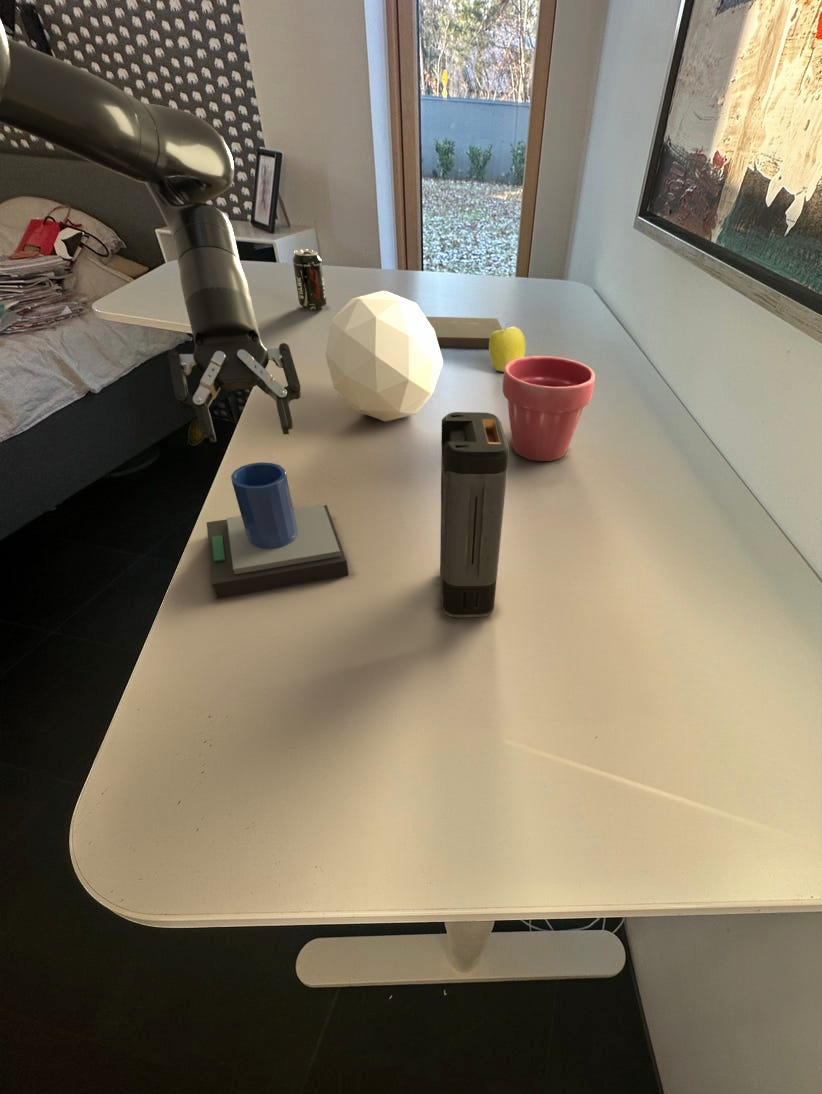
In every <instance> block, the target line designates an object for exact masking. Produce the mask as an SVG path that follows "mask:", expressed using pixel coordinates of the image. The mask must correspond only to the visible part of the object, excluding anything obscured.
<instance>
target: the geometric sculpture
mask: <svg viewBox="0 0 822 1094" xmlns="http://www.w3.org/2000/svg"><path fill="white" fill-rule="evenodd" d="M426 317H427V316H425V313H423V311H422V310H421V308H420V306H419V305H418V304H417V302H415V301H413V300H409V299H407V298H405V297H402V296H399V295H397V294H394V293H392V292H389V291H388V290H387V291H386V290H380V291H377V292H373V293H368V294H366V295H361V296H357V297H354V298H351V299H350V300H349V301H348V302H347V303H345V305H344V306H343V307H342V308H341V309H340V310H339V312H338V313H336V314H335V315H334V316H333V317H332V318H331V319H330V325H329V330H328V331H329V332H328V336H327V337H328V338H327V342H326V343H327V344H326V350H325V359H326V362H327V366H328V370H329V374H330V378H331V381H332V385H333V389H334V390H335V391H336V392H337V393H338V394H339V395H340V396H341V397H342V398H343V399H344V400H345V402H346V403H347V404H348V405H349V406H350V407H351V409H353V411H355V412H358V413H361V414H363V415H366V416H369V417H372V418H374V419H377V420H379V421H382V422H389V421H394V420H397V419H402V418H405V417H410V416H415V415H416V414H417V413H418V412H419V410H421V408H422V407H423V406H424V405H425V404H426V403H427V402H428V400H429V399H430V398H431V397H432V395H433V394H434V391H435V390H436V386H437V383H438V380H439V377H440V374H441V371H442V369H443V366H444V359H443V355H442V352H441V348H439V345H438V342H437V338H436V335H435V331H434V329H433V328H432V326H431V325H430V323H429V322H428V320H427V319H426Z"/></svg>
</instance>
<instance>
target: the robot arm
mask: <svg viewBox="0 0 822 1094" xmlns="http://www.w3.org/2000/svg"><path fill="white" fill-rule="evenodd" d="M0 124H2V125H6V126H8V127H10V128H13V129H16V130H18V131H20V132H23V133H24V134H27V135H29V136H31V137H34V138H37V139H39V140H41V141H44V142H46V143H48V144H50V145H52V146H54V147H56V148H59V149H61V150H63V151H65V152H68V153H70V154H72V155H74V156H76V157H79V158H81V159H83V160H85V161H87V162H89V163H92V164H94V165H96V166H99V167H101V168H104V169H106V170H108V171H111V172H113V173H115V174H118V175H120V176H123V177H125V178H128V179H129V180H133V181H135V182H138V183H143V184H145V186H146V187H147V189H148V191H149V193H150V195H151V197H152V199H153V200H154V202H155V204H156V206H157V208H158V210H159V211H160V214H161V216H162V218H163V220H164V222H165V225H166V226H167V227H168V230H169V233H170V234H171V237H172V243H173V247H174V251H175V256H176V260H177V263H178V268H179V279H180V287H181V291H182V295H183V299H184V305H185V307H186V308H185V309H186V312H187V316H188V320H189V324H190V329H191V333H192V337H193V342H194V351H193V353H179V351H178V350H176V349H170V350H168V351H167V357H168V358H167V359H168V364H169V369H170V376H171V382H172V387H173V393H174V398H175V399H176V401H177V403H178V405H179V407H180V408H181V409H183V410H188V409H189V410H193V411H194V412H195V413H196V414H195V415H196V417H197V422H198V427H199V430H200V432H201V435H202V436H203V437H204V439H208V440H209V442H210V443H216V442H217V436H216V431H215V428H214V423H213V420H212V419H213V418H212V415H211V412H210V409H209V408H210V406H211V405H212V403H213V400H215V399H216V397H217V396H218V395H219V392H220V390H221V389H222V390H225V391H226V392H232V391H233V392H234V391H236V390H240V389H241V390H253V389H254V388H255V387H256V386H257V387H258V388H259V389H260V390H261V391H262V392H263V393H264V394H266V395H269V396H270V398H272V400H273V401H275V402H276V403H275V404H276V409H277V414H278V417H279V423H280V426H281V429H282V430H281V431H282V434H283V435H284V436H285V435H290V430H293V426H294V422H293V417H292V413H291V408H290V402H292V401H293V400H299V399H300V398H301V397H302V393H301V389H302V388H301V383H300V380H299V376H298V373H297V369H296V365H295V363H294V359H293V356H292V353H291V348H290V346H289V344H287V343H286V342H285V343H284V342H281V343H280V344H279V345H278V347H274V348H266V347H265V346H264V345H263V343H262V340H261V336H260V332H259V328H258V323H257V319H256V314H255V310H254V306H253V305H254V304H253V299H252V296H251V293H250V288H249V284H248V281H247V278H246V276H245V273H244V270H243V266H242V264H241V260H240V254H239V251H238V246H237V242H236V238H235V234H234V230H233V227H232V224H231V222H230V220H229V218H228V217H227V215H226V214H225V213H224V212H223V211H222V210H220V209H219V208H217V207H216V206H214V205H212V204H208V203H207V202H209V201H211V200H212V199H214V198H216V197H218V196H220V195H221V194H223V193H225V192H226V191H227V190H229V188H230V187H231V186H232V184H233V182H234V178H235V164H234V160H233V156H232V153H231V151H230V148H229V146H228V145H227V143H226V142H225V140H224V138H223V137H222V136H221V134H220V133H219V132H218V131H217V130H216V129H215V128H214V127H213V126H212V125H211V124H210V123H209V122H207V121H206V120H204V119H203V118H201V117H200V116H198V115H196V114H195V113H194V114H193V113H192V112H189V111H185V110H182V109H179V108H173V107H170V106H165V105H161V104H155V103H147V102H146V103H145V102H142V101H141V100H139V99H137V98H136V97H134V96H132V95H130V94H129V93H127V92H126V91H124V90H122V89H120V88H119V87H117V86H116V85H114V84H112V83H110V82H108V81H107V80H105V79H103V78H101V77H99V76H97V75H96V74H93V73H91V72H88V71H87V70H84V69H83V68H80V67H77V66H75V65H74V64H72V63H69V62H66V61H64V60H61V59H58V58H56V57H54V56H51V55H49V54H48V53H45V52H42V51H39V50H37V49H35V48H32V47H30V46H28V45H25V44H23V43H21V42H18V41H16V40H14V39H11V38H10V37H7V34H6V30H5V27H4V25H3V22H2V19H1V18H0ZM269 361H272V362H274V364H275V366H276V367H277V368H279V369H282V370H283V373H284V376H285V380H286V383H287V386H284V387H283V386H282V385H281V384H280V383H279V382H278V381H276V379H275V378H274V377H273V375H272V374H271V373H270V372H269V371H268V370H267V369H266V368H267V367H268V365H269ZM194 366H196V367H197V368H198V369H199V370H200V371H201V372H202V373H203V375H202V377H201V378H200V381H199V385H198V387H197V389H196V391H195V393H194V394H190V393H189V389H188V383H187V378H186V377H187V376H189V375H190V374H191V373H192V368H193V367H194Z"/></svg>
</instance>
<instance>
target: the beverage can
mask: <svg viewBox="0 0 822 1094" xmlns="http://www.w3.org/2000/svg"><path fill="white" fill-rule="evenodd" d="M293 252H294V253H293V254H294V256H293V258H292V264H293V271H294V278H295V284H296V285H295V286H296V291H297V298H298V303H299V305H300V306H301V307H302V308H304V309H305V310H310V311H318V310H322V309H323V308H325V307H326V305H327V295H326V287H325V280H324V272H323V263H322V262H323V261H322V259H321V257H320V256H319V251H316V250H314V249H296V250H294V251H293Z"/></svg>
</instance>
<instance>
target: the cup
mask: <svg viewBox="0 0 822 1094" xmlns="http://www.w3.org/2000/svg"><path fill="white" fill-rule="evenodd" d="M230 478H231V479H230V480H231V483H232V486H233V491H234V495H235V498H236V501H237V505H238V508H239V513H240V516H242V520H243V523H244V527H245V530H246V534H247V537H248V540H249V542H250V543H251V544H252V545H254V546H256V547H259V548H264V549H274V548H279V547H283V546H286V545H288V544H290V543H291V542H293V541H294V540H295V539H296V537H297V535H298V531H297V525H296V520H295V515H294V510H293V508H294V505H293V501H292V496H291V491H290V490H291V489H290V486H289V481H288V476H287V472H286V469H285V468H284V467H283V466H282V465H279V464H277V463H273V462H264V461H261V462H260V461H259V462H252V463H247V464H244V465H242V466H240V467H238V468H237V469H235V470H234V471H233V472H232V474H231V475H230Z"/></svg>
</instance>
